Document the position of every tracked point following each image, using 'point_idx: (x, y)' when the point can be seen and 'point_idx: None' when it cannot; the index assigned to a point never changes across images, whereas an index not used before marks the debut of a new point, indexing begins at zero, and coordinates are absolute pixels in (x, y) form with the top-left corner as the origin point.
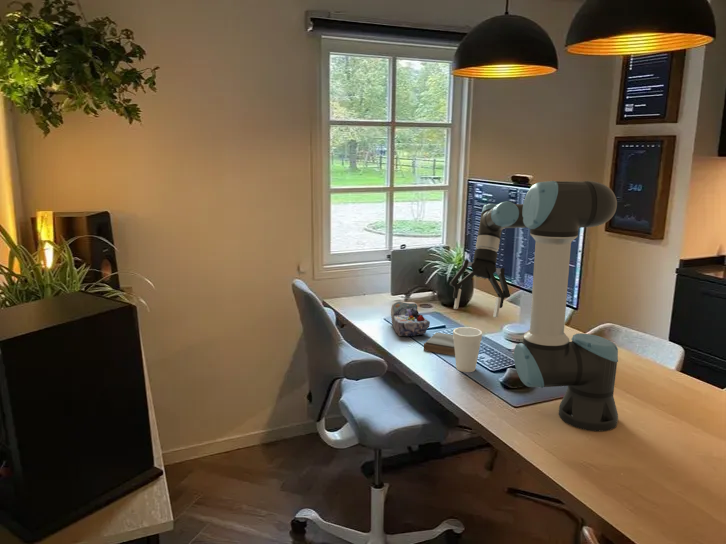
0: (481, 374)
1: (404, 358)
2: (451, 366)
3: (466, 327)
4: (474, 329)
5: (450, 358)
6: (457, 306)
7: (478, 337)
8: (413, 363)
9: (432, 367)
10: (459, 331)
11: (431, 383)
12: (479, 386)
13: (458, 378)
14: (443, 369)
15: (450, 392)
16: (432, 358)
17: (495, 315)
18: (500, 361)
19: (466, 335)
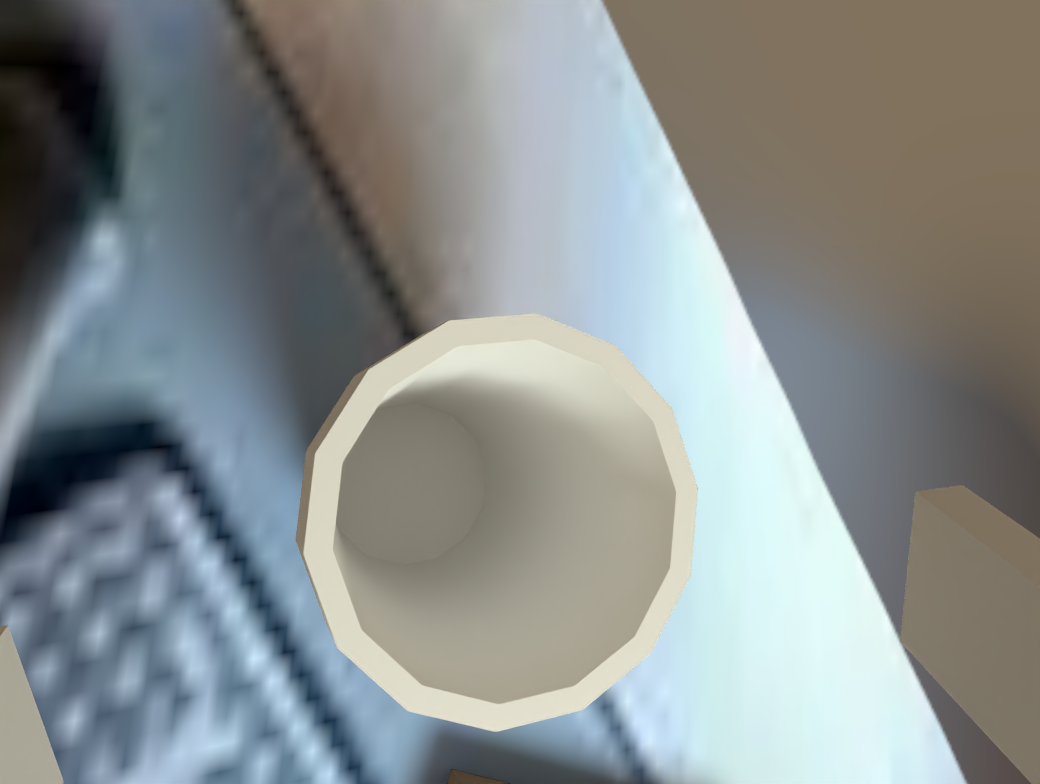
0: (276, 361)
1: (855, 622)
2: None
3: (518, 705)
4: (403, 666)
5: None
6: (960, 510)
7: (369, 368)
8: (795, 531)
9: None
10: (592, 638)
11: (676, 167)
12: (323, 108)
13: (481, 264)
14: None
15: (553, 9)
16: (665, 666)
17: (4, 673)
18: None
19: (481, 655)
